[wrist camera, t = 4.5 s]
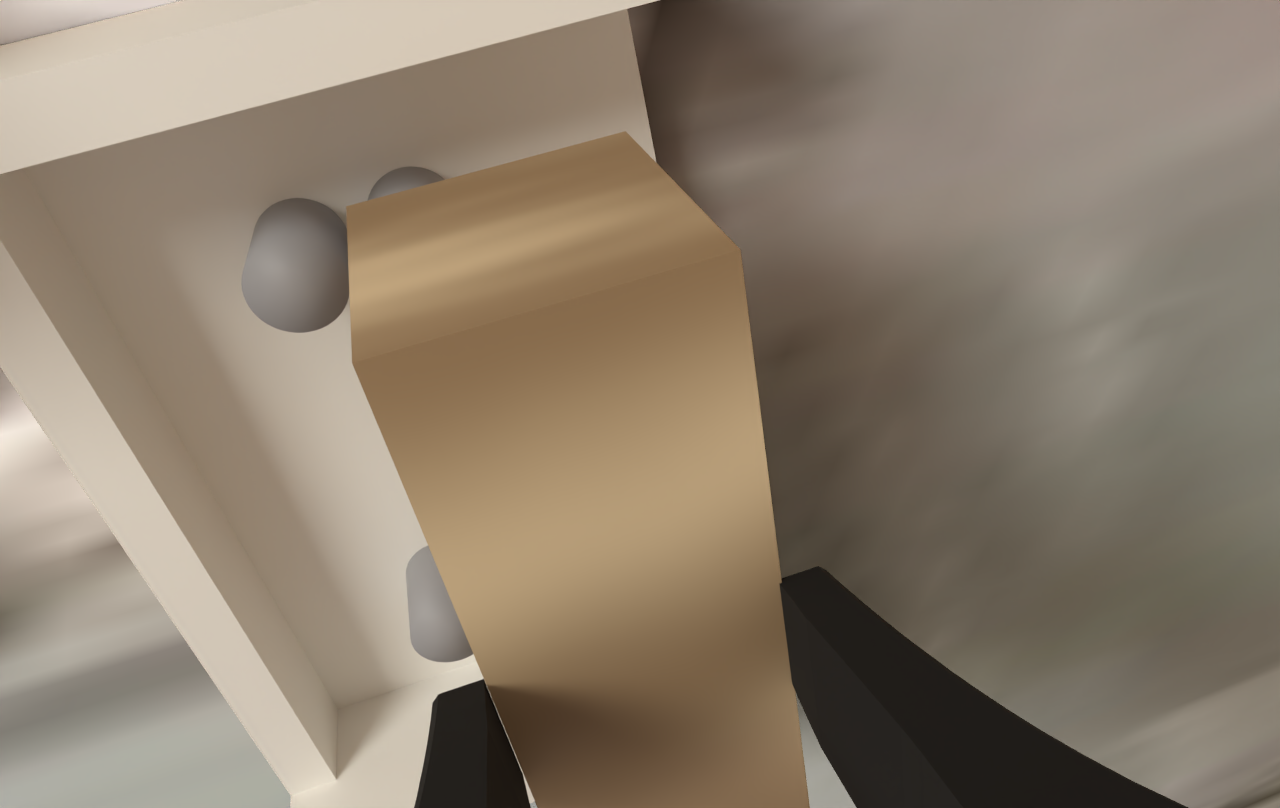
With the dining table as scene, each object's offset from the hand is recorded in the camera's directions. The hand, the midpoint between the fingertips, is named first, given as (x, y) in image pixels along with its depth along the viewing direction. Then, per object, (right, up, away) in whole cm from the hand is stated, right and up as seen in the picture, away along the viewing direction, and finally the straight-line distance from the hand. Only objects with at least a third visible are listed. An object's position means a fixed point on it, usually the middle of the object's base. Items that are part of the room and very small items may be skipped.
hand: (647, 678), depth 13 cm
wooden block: (-1, +2, +4) cm, 4 cm away
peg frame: (-5, +4, +7) cm, 9 cm away
